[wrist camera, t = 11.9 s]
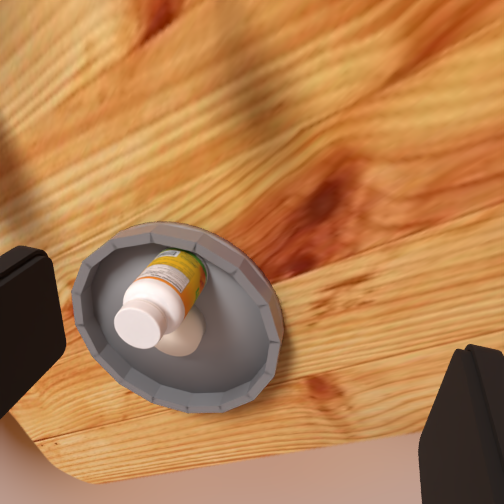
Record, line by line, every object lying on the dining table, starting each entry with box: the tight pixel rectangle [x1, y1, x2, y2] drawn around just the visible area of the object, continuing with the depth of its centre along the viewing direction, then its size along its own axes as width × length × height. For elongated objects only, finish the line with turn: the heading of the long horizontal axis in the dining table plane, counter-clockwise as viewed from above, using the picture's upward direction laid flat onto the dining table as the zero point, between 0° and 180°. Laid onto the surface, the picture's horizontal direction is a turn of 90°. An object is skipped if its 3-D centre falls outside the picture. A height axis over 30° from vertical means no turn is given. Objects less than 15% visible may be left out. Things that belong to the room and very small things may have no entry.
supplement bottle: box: [114, 247, 208, 349], centre depth 38 cm, size 5×5×10 cm
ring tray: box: [71, 221, 284, 413], centre depth 45 cm, size 22×22×3 cm
